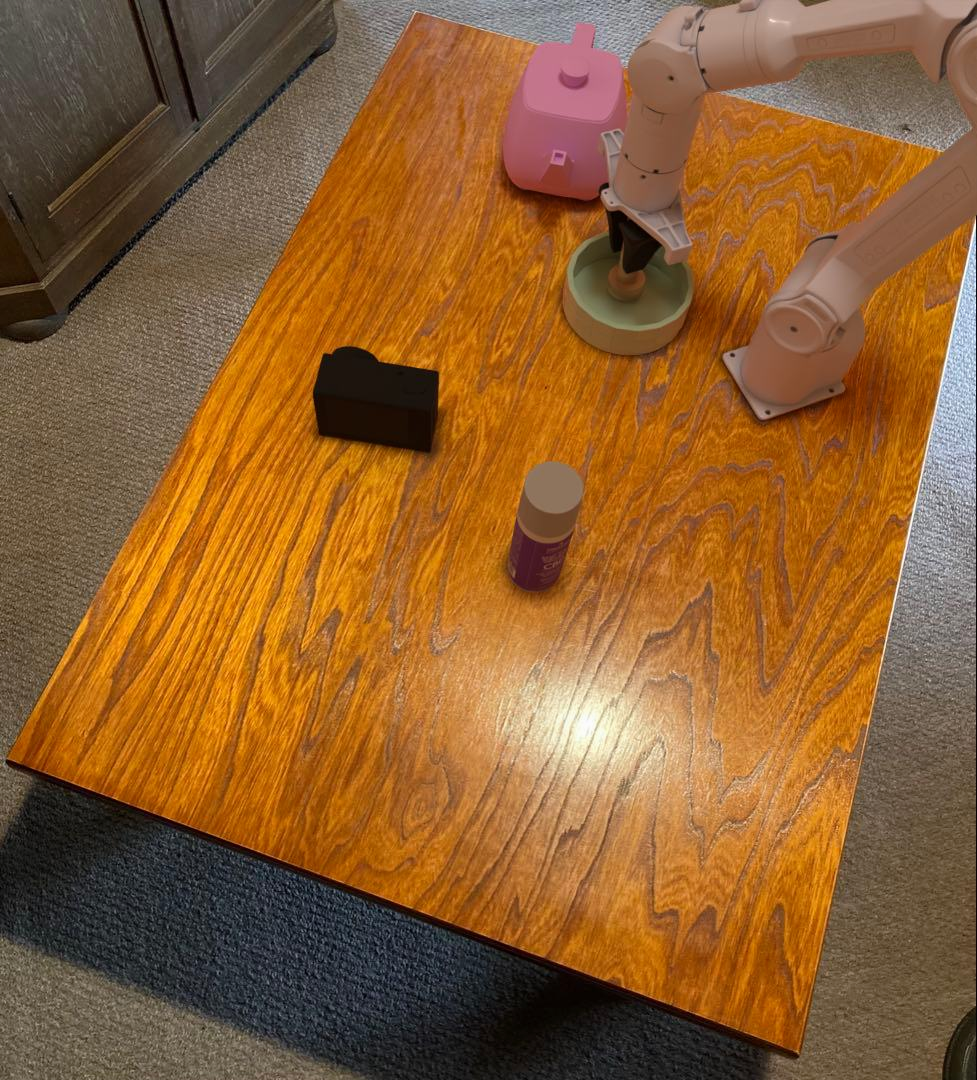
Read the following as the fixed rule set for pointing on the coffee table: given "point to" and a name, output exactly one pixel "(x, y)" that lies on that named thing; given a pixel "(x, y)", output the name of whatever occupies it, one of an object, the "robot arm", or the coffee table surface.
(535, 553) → the container
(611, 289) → the brown piece
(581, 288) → the bowl
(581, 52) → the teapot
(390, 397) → the digital camera
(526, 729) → the coffee table surface
